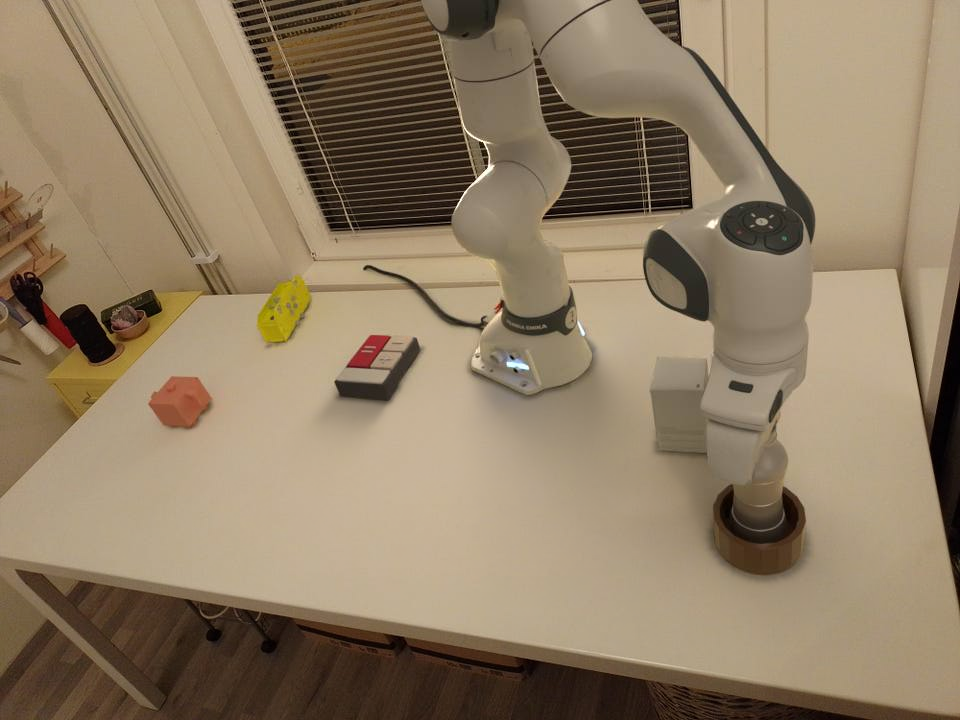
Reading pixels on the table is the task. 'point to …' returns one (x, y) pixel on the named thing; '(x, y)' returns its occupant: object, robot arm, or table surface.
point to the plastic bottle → (762, 498)
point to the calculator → (377, 367)
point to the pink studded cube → (180, 401)
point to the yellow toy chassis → (283, 310)
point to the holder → (760, 555)
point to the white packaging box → (679, 403)
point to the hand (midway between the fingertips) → (757, 449)
